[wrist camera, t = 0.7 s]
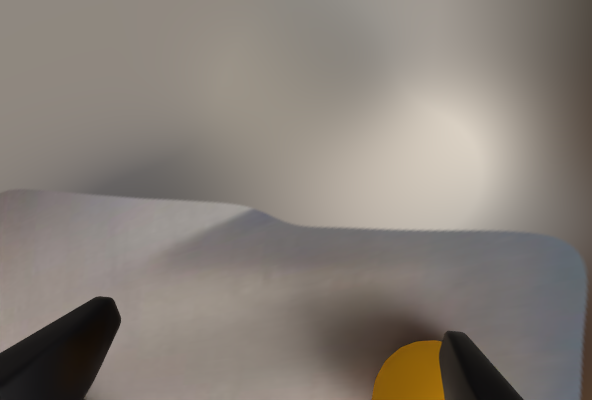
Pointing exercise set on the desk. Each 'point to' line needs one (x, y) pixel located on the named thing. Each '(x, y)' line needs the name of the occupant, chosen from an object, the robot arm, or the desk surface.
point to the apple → (411, 374)
